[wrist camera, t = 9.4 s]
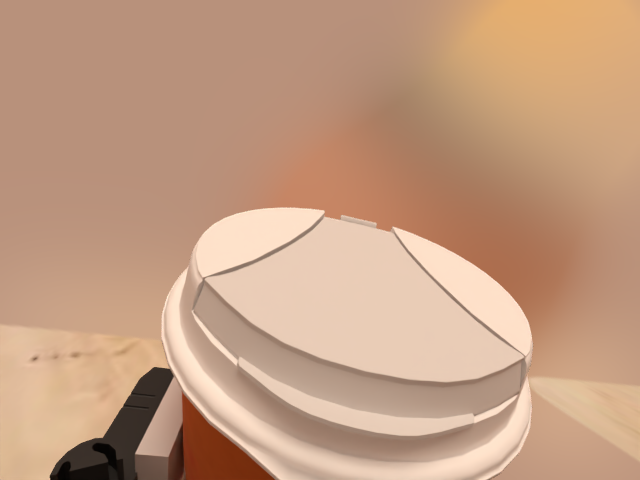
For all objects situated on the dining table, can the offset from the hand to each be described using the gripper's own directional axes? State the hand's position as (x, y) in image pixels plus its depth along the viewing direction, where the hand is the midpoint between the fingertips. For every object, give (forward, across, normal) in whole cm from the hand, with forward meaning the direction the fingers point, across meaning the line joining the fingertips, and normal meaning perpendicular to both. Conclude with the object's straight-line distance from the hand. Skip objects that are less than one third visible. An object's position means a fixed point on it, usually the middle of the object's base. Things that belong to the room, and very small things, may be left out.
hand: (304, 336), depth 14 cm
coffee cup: (-5, 0, -9) cm, 10 cm away
